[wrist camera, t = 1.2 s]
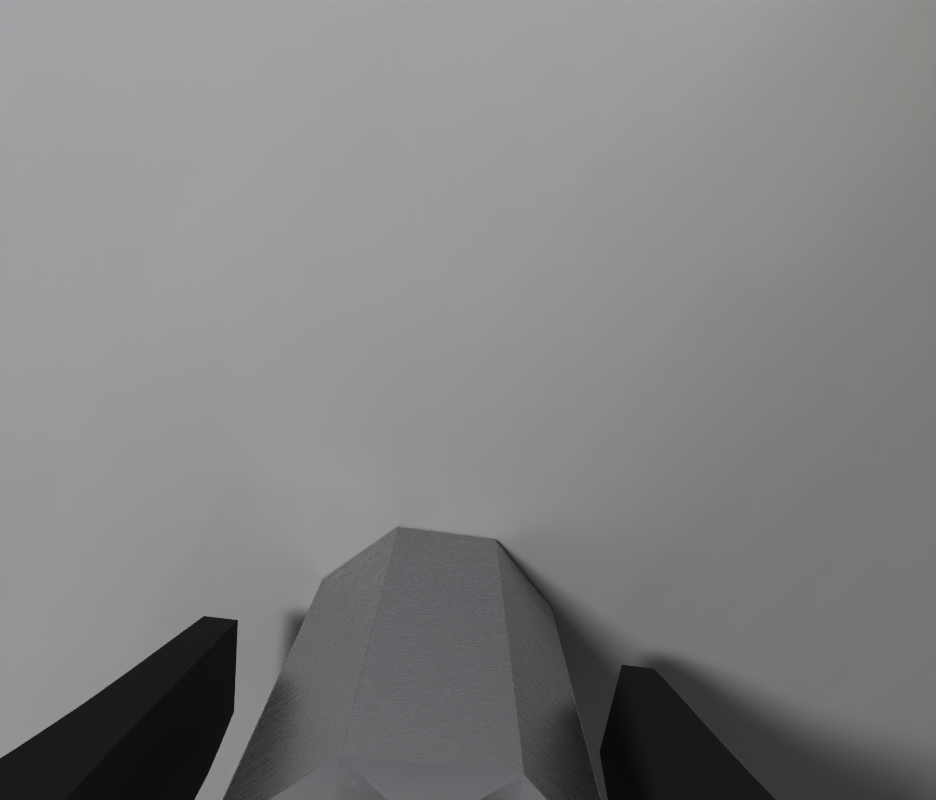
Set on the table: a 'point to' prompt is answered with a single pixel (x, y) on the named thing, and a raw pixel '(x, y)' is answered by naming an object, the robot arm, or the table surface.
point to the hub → (422, 686)
